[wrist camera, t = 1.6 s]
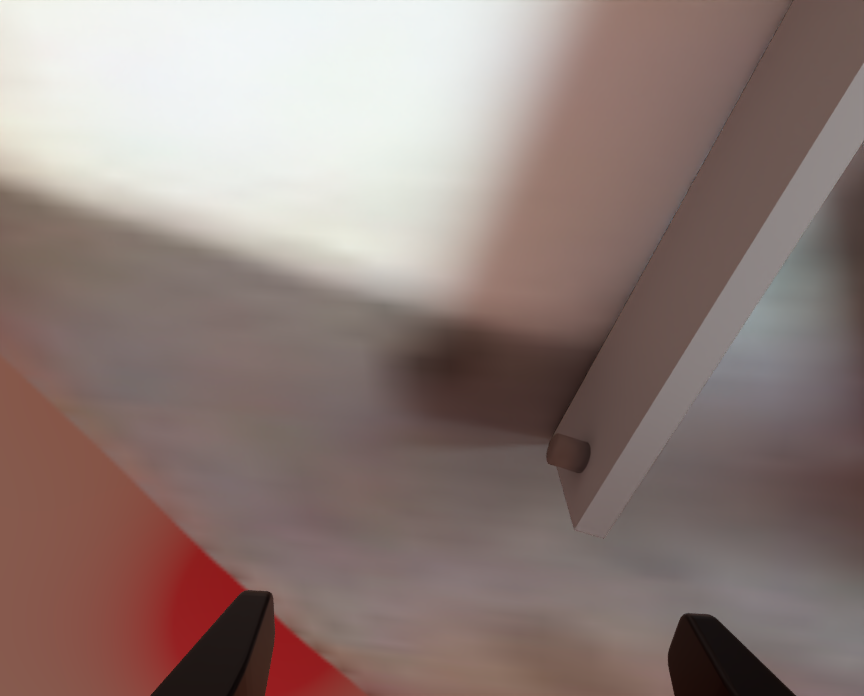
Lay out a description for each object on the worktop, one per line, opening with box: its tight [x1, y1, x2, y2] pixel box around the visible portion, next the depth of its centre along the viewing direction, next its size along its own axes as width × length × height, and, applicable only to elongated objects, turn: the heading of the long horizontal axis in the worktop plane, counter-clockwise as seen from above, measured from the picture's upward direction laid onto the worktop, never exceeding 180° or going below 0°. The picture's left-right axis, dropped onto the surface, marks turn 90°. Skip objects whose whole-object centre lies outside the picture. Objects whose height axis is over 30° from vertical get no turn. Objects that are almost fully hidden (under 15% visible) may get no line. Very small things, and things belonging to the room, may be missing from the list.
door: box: [547, 0, 864, 538], centre depth 17 cm, size 20×2×5 cm, turn 160°
